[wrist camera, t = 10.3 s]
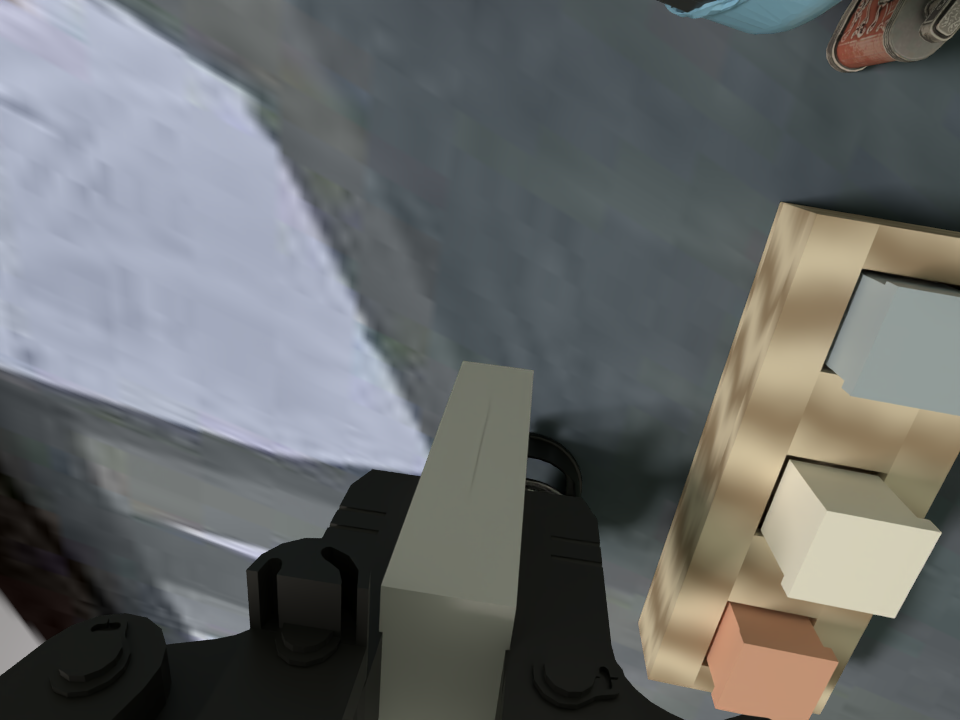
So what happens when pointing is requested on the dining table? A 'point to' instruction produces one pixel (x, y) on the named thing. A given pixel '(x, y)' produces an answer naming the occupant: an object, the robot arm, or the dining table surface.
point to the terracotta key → (768, 663)
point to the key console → (791, 435)
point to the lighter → (891, 32)
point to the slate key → (900, 343)
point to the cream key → (845, 539)
